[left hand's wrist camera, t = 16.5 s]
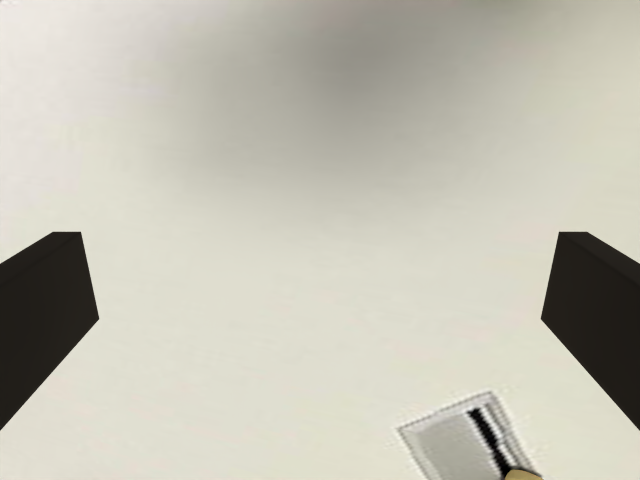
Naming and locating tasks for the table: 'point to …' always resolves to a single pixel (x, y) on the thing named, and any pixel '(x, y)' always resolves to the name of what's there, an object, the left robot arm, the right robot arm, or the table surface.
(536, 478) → the toy gun
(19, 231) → the table surface
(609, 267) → the left robot arm
